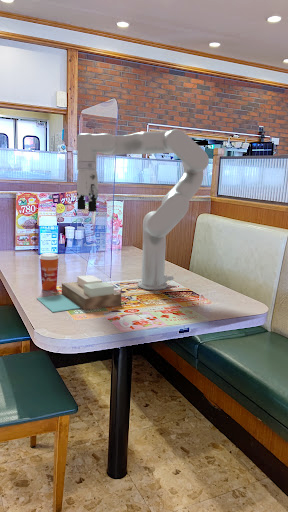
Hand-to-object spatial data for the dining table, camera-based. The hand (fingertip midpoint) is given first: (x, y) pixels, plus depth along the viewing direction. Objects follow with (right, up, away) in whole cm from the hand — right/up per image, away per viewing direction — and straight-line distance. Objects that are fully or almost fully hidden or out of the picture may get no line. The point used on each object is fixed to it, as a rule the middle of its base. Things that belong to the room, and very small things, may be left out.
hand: (86, 210), depth 161 cm
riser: (+3, -34, -11) cm, 36 cm away
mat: (-8, -35, -18) cm, 40 cm away
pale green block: (+7, -32, -17) cm, 37 cm away
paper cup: (-15, -32, 0) cm, 35 cm away
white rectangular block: (+2, -30, -9) cm, 31 cm away
